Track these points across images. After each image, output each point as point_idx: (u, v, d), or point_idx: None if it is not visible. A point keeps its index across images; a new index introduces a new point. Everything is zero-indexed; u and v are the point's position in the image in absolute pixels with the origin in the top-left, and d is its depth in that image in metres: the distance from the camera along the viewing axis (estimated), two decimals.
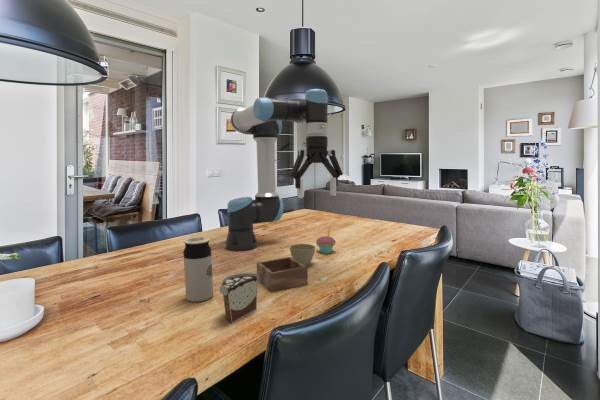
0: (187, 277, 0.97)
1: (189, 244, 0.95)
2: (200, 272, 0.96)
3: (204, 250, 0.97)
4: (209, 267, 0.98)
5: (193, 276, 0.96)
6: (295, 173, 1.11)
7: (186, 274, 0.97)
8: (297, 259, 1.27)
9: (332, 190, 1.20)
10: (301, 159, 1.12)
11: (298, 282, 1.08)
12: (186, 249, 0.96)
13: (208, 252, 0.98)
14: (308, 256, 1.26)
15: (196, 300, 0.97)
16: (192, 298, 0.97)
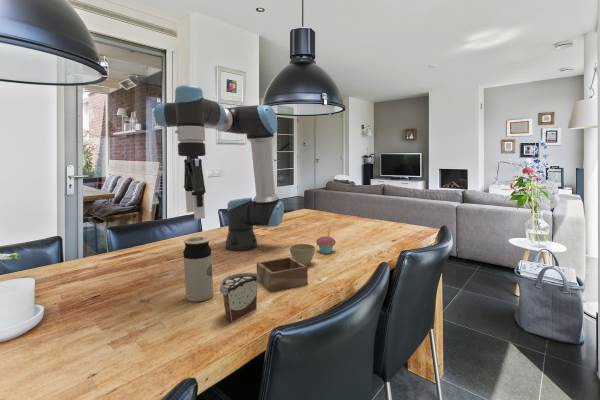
0: (187, 277, 0.97)
1: (189, 244, 0.95)
2: (200, 272, 0.96)
3: (204, 250, 0.97)
4: (209, 267, 0.98)
5: (193, 276, 0.96)
6: (184, 184, 1.04)
7: (186, 274, 0.97)
8: (297, 259, 1.27)
9: None
10: None
11: (298, 282, 1.08)
12: (186, 249, 0.96)
13: (208, 252, 0.98)
14: (308, 256, 1.26)
15: (196, 300, 0.97)
16: (192, 298, 0.97)
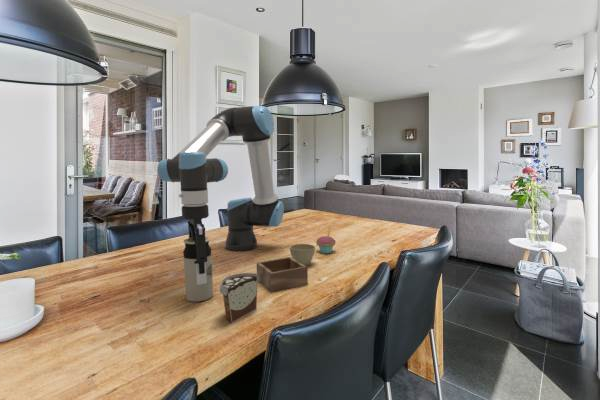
0: (187, 277, 0.97)
1: (189, 244, 0.95)
2: None
3: None
4: (209, 267, 0.98)
5: (193, 276, 0.96)
6: None
7: (186, 274, 0.97)
8: (297, 259, 1.27)
9: None
10: None
11: (298, 282, 1.08)
12: (186, 249, 0.96)
13: (208, 252, 0.98)
14: (308, 256, 1.26)
15: (196, 300, 0.97)
16: (192, 298, 0.97)
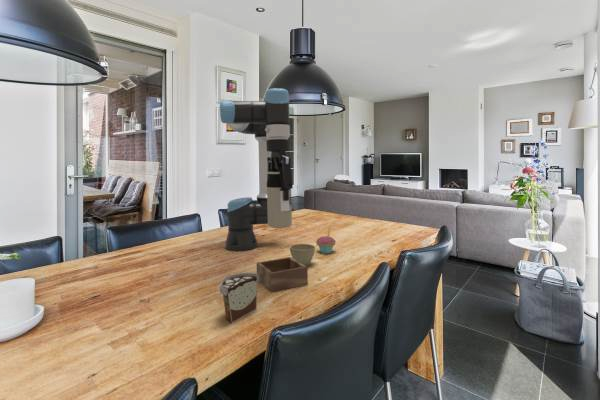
0: (271, 205, 1.06)
1: (274, 174, 1.04)
2: None
3: None
4: (290, 197, 1.07)
5: (277, 203, 1.05)
6: None
7: (270, 202, 1.06)
8: (297, 259, 1.27)
9: None
10: (268, 166, 1.12)
11: (298, 282, 1.08)
12: (270, 179, 1.05)
13: None
14: (308, 256, 1.26)
15: (279, 226, 1.06)
16: (276, 224, 1.06)
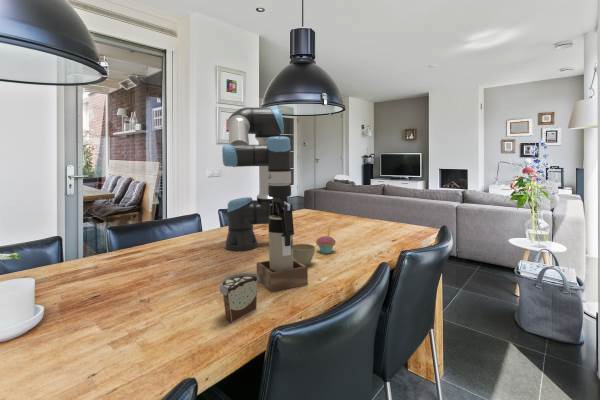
0: (273, 249, 1.08)
1: (276, 219, 1.06)
2: None
3: None
4: (291, 241, 1.09)
5: (279, 248, 1.07)
6: (269, 223, 1.15)
7: (272, 247, 1.08)
8: (297, 259, 1.27)
9: None
10: (269, 209, 1.14)
11: (298, 282, 1.08)
12: (272, 224, 1.07)
13: None
14: (308, 256, 1.26)
15: (281, 270, 1.08)
16: (278, 268, 1.08)
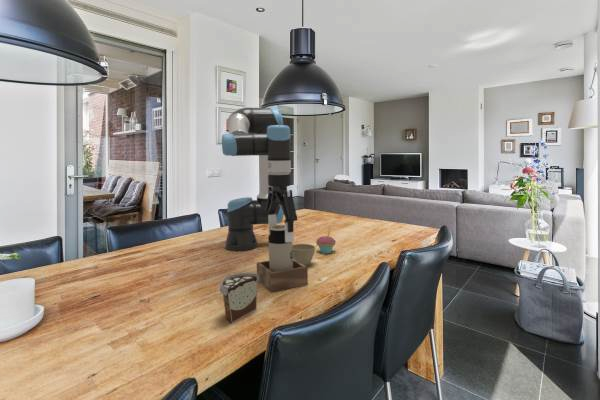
0: (273, 260, 1.08)
1: (276, 230, 1.07)
2: (285, 256, 1.08)
3: None
4: (291, 251, 1.10)
5: (279, 259, 1.07)
6: (266, 208, 1.17)
7: (272, 258, 1.08)
8: (297, 259, 1.27)
9: None
10: (268, 196, 1.14)
11: (298, 282, 1.08)
12: (272, 235, 1.08)
13: None
14: (308, 256, 1.26)
15: None
16: None
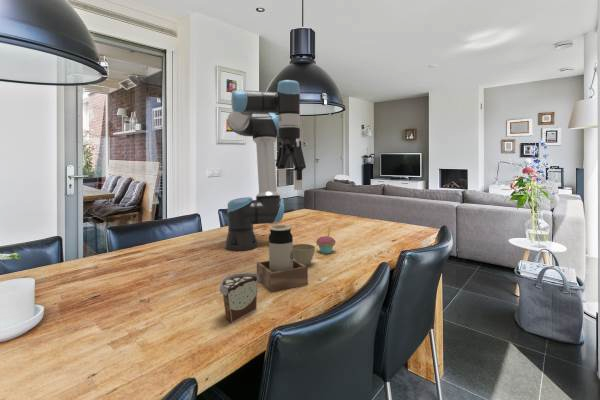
0: (273, 260, 1.08)
1: (276, 230, 1.07)
2: (285, 256, 1.08)
3: (288, 236, 1.08)
4: (291, 251, 1.10)
5: (279, 259, 1.07)
6: (276, 163, 1.25)
7: (272, 258, 1.08)
8: (297, 259, 1.27)
9: None
10: (278, 150, 1.22)
11: (298, 282, 1.08)
12: (272, 235, 1.08)
13: (291, 238, 1.09)
14: (308, 256, 1.26)
15: None
16: None
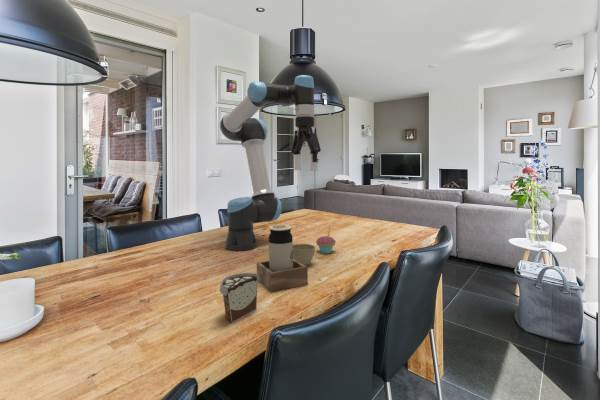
0: (273, 260, 1.08)
1: (276, 230, 1.07)
2: (285, 256, 1.08)
3: (288, 236, 1.08)
4: (291, 251, 1.10)
5: (279, 259, 1.07)
6: (292, 149, 1.40)
7: (272, 258, 1.08)
8: (297, 259, 1.27)
9: None
10: (294, 138, 1.37)
11: (298, 282, 1.08)
12: (272, 235, 1.08)
13: (291, 238, 1.09)
14: (308, 256, 1.26)
15: None
16: None
